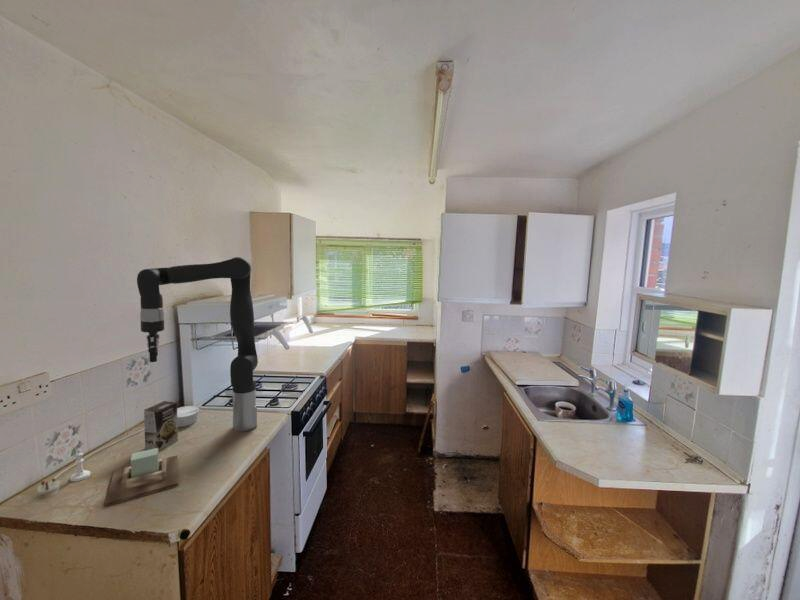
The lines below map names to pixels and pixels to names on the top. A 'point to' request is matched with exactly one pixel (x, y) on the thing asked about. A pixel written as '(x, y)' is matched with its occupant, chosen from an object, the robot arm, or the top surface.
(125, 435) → the top surface
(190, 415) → the ramekin
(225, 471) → the top surface
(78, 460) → the chess piece
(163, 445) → the coffee box
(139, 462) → the key block
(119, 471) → the board
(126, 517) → the top surface
